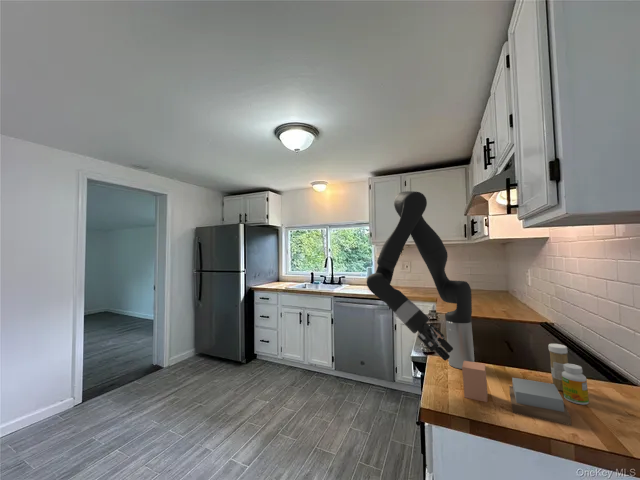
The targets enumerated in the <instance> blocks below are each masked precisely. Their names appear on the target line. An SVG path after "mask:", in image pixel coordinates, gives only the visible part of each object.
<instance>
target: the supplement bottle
mask: <svg viewBox="0 0 640 480" xmlns="http://www.w3.org/2000/svg"><path fill="white" fill-rule="evenodd" d="M564 370H565V371H563V372H562V383H563V391H562V392H563V398H564V399H565V400H566V401H568V402H570V403H573V404H577V405H584V406H585V405H588V404H590V399H589V390H588V381H587V377H586V376H585V375H584V374H583V373H584V371H583V367H582V366H581V365H579V364H578V365H577V364H574V363H568V364H564Z"/></svg>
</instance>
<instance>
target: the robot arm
mask: <svg viewBox="0 0 640 480" xmlns="http://www.w3.org/2000/svg"><path fill="white" fill-rule="evenodd" d="M393 202H394V204H393V206H394V209H395V212H396V213H397V215H398V216H399V221H398V223H397V225H396V227H395V228H394V230H393V231H392V233H391V234H390V235H389V236H388V238H387V239H386V240H385V241H384V243H383V245H382V248H381V250H380V252H379V255H378V257H377V261H376V264H377V267H376V271H375V272H374V273H372V274H369V276H367V279H366V286H367V289H368V290H369V291H370V292H371V293H372V294H373V295H374V296H376V297H377V298H378V299H379V300H381V301H382V302H383V303H385V304H386V305H387V306H388V307H389V309H390V310H391V311H392V312H393V313H394V314H395V315H396V316H397V318H398V319H399V320H400V321H401V322H402V323H403V324H404V325H405V326H406V327H407V328H408V330H410V331H411V333H412V334H416V333H417V332H418V333H419V334H418V335H417V337H418V339H419V340H420V341H421V342H422V344H424V345H425V346H426V347H427V349H429V350H430V352H434V353H435V352H436V354H437V355H438V356H439V357H440V358H441V359H442V360H443V361H448V364H449V365H450V366H451V367H452V368H455V369H459V370H460V369H461V370H462V366H463V362H464V361H469V362H475V354H474V353H475V352H474V351H475V349H474V340H473V338H474V337H473V328H472V327H473V326H472V324H473V323H472V314H473V309H472V308H473V306H472V303H473V302H472V289H471V286H470V283H468V282H467V281H466V280H465V281H464V280H450V279H449V278H448V276H447V273H446V265H447V261H448V257H449V256H448V255H449V254H448V250H447V248H446V246H445V245H444V242H443V240H442V239H441V237H440V236H439V234H437V232H436V231H435V230H434V229H433V227H431V226H430V225H429V224H428V222H427V221H426V220H425V218H424V216H423V215H424V213H425V211H426V209H427V205H428V201H427V197H426V196H425V195H424V193H422V192H419V191H413V190H412V191H410V190H409V191H408V190H407V191H401V192H399V193H398V194H397V195H396V196H395V197H394V201H393ZM410 237H411V238H412V240H413V242H414V244H415V246H416V248H417V250H418V253H419V254H420V256H421V258H422V260H423V262H424V264H425V265H426V267H427V269H428V271H429V273H430V275H431V278H432V280H433V283H434V285H435V288H436V290H437V292H438V295H439V297H440V298H441V300H442V301H443V302H444V303H447V304H456V308H455V309H454V310H451V311H447V312H446V313H445V329H446V331H445V332H446V338H445V335H444V334H443V333H442V332H441V331H440V330H439V329H438V328H437V327H436V326H435V325H434V324H433V323H431V322H430V323H429V324H428V322H429V321H430V318H429V316H427V314H425V313H424V312H423V311H422V310H421V309H420V308H419V307H418V306H417V305H416V304H415V303H414V302H412V301H411V300H410V299H409V298H408V297H407V296H406V295H405V294H404V293H403V292H402V291H400V289H399V290H398V289H397V288H395V287H393V286H392V285H391V284H392V280H393V276H394V271H395V268H396V266H397V264H398V261H399V259H400V257H401V254H402V251H403V249H404V247H405V245H406V243H407V241H408V240H409V238H410Z"/></svg>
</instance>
